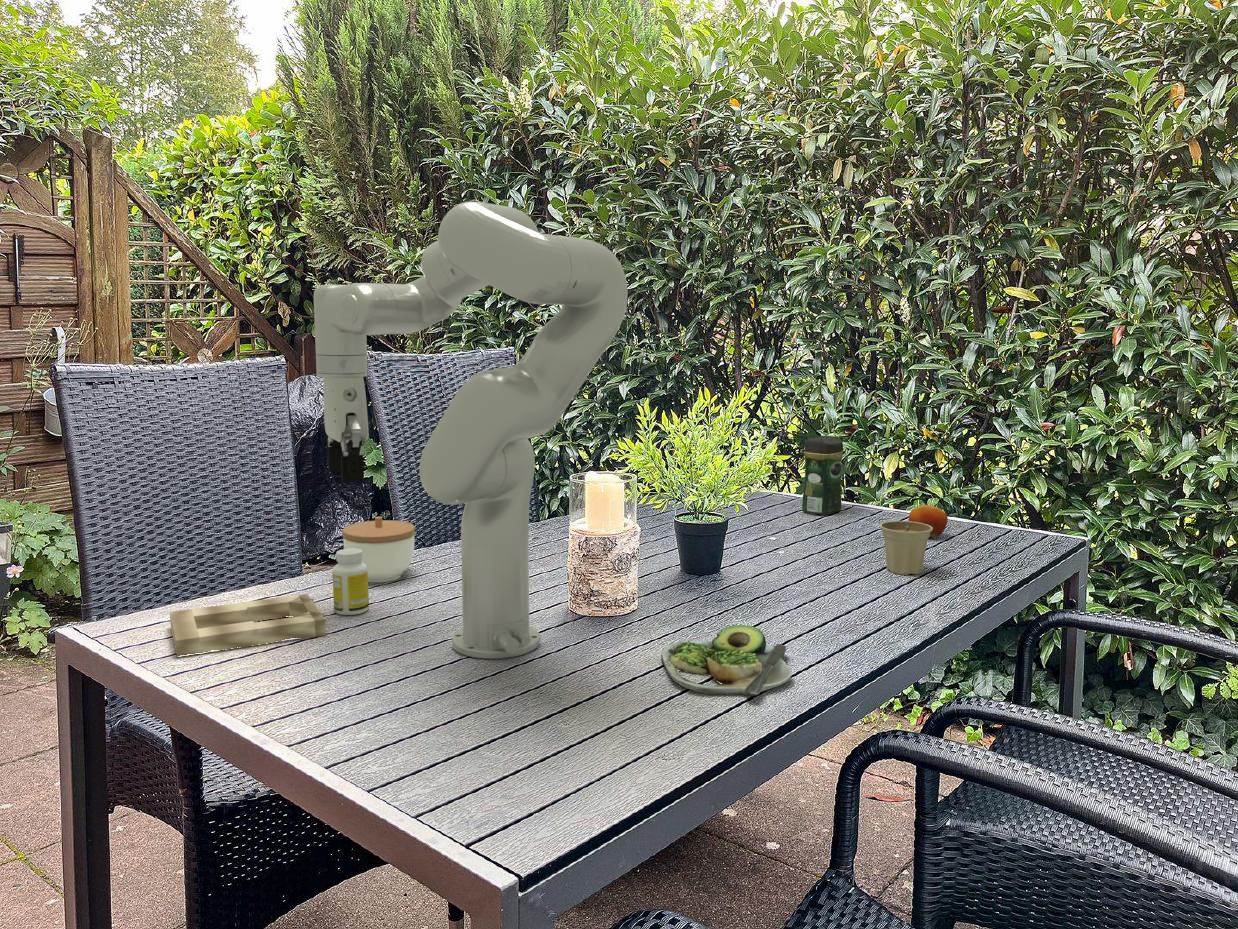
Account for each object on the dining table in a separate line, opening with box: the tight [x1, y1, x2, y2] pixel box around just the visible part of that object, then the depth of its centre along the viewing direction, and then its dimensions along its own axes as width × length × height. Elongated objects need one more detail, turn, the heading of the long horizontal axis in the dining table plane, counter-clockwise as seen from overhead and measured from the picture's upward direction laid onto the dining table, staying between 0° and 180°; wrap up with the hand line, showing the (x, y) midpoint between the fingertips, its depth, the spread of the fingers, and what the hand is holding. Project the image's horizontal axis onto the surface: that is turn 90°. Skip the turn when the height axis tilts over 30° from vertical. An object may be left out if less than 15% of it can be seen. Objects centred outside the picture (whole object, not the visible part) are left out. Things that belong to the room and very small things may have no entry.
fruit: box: [908, 504, 949, 541], centre depth 203 cm, size 8×8×8 cm
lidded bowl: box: [341, 516, 416, 584], centre depth 168 cm, size 13×13×11 cm
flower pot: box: [879, 520, 933, 576], centre depth 175 cm, size 9×9×9 cm
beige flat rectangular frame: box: [169, 593, 327, 657], centre depth 140 cm, size 20×14×2 cm
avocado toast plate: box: [660, 624, 792, 696], centre depth 125 cm, size 19×18×5 cm
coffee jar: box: [801, 435, 844, 516], centre depth 226 cm, size 10×8×19 cm
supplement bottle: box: [331, 548, 370, 616], centre depth 149 cm, size 5×5×10 cm
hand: (345, 476), depth 147 cm, fingers open, 9 cm apart
